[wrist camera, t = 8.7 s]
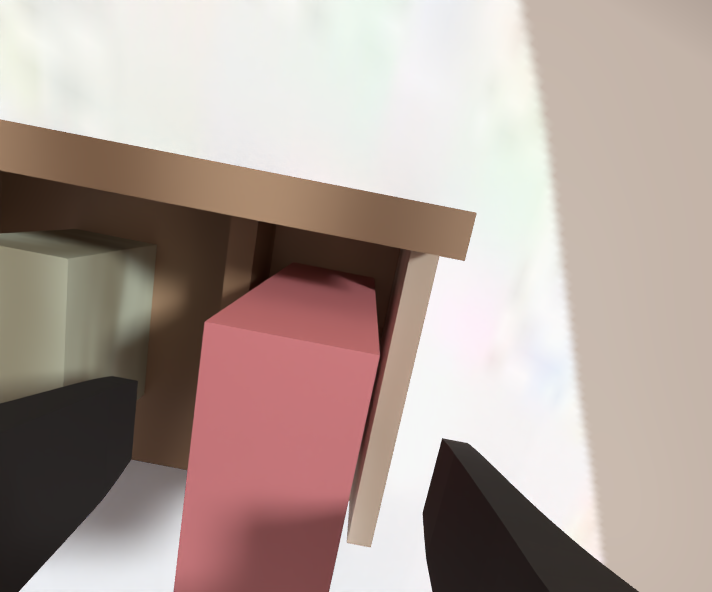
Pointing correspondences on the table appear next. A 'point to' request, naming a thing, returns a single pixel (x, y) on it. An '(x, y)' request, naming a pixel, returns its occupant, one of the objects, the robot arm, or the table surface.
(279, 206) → the book rack
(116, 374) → the sage block
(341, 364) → the pink block
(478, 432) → the table surface
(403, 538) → the table surface
